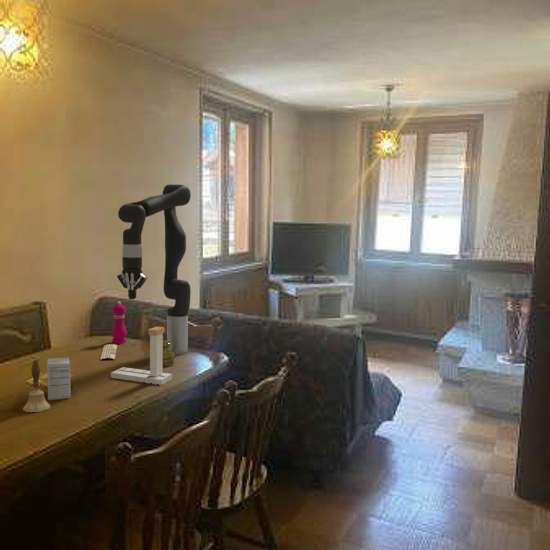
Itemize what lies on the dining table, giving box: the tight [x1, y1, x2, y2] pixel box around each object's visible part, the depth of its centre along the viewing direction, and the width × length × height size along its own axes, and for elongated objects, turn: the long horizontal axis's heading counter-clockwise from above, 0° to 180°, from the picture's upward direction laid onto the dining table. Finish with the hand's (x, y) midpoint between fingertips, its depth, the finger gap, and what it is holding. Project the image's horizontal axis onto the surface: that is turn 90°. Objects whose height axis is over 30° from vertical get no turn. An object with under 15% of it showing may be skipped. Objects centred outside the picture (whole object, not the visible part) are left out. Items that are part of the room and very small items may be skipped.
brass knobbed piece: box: [163, 339, 176, 367], centre depth 234 cm, size 7×7×10 cm
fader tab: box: [147, 326, 165, 377], centre depth 211 cm, size 6×4×18 cm, turn 162°
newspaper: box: [100, 343, 118, 361], centre depth 249 cm, size 24×7×2 cm, turn 13°
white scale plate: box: [110, 366, 173, 386], centre depth 215 cm, size 8×22×2 cm, turn 72°
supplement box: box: [46, 357, 72, 401], centre depth 192 cm, size 7×7×13 cm
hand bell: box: [22, 359, 51, 414], centre depth 180 cm, size 8×8×16 cm
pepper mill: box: [111, 300, 128, 345], centre depth 266 cm, size 7×7×20 cm
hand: (132, 299), depth 222 cm, fingers closed
